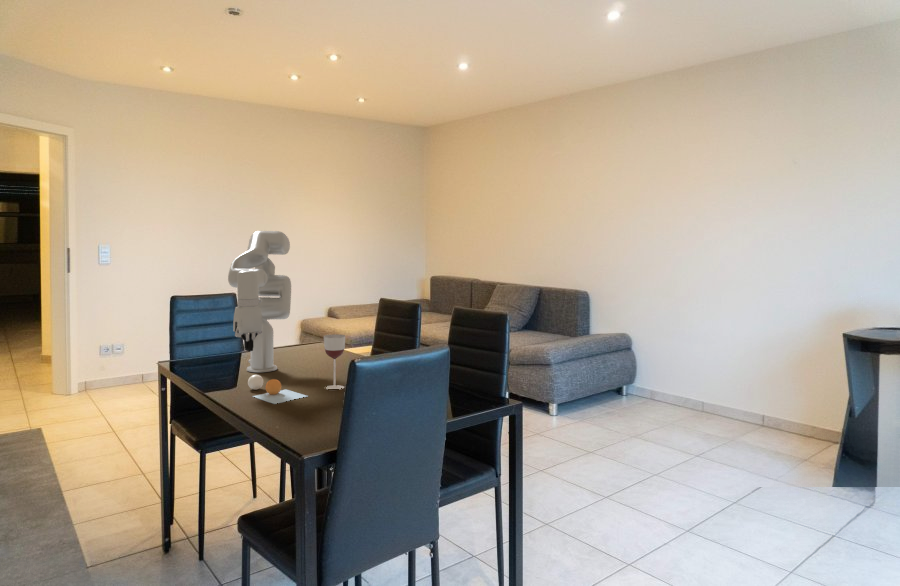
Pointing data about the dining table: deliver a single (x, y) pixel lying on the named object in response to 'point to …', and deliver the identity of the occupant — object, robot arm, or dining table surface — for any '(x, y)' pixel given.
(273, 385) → the orange ball
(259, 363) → the robot arm
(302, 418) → the dining table surface
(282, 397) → the blue mark
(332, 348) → the wineglass
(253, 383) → the cue ball
